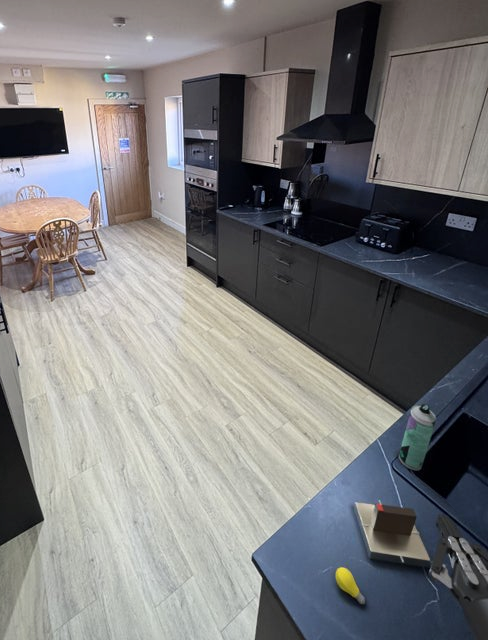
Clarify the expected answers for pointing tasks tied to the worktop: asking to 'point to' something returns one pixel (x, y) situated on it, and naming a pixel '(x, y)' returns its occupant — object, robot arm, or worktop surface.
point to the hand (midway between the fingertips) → (441, 517)
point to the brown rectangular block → (393, 519)
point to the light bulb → (348, 584)
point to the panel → (390, 541)
